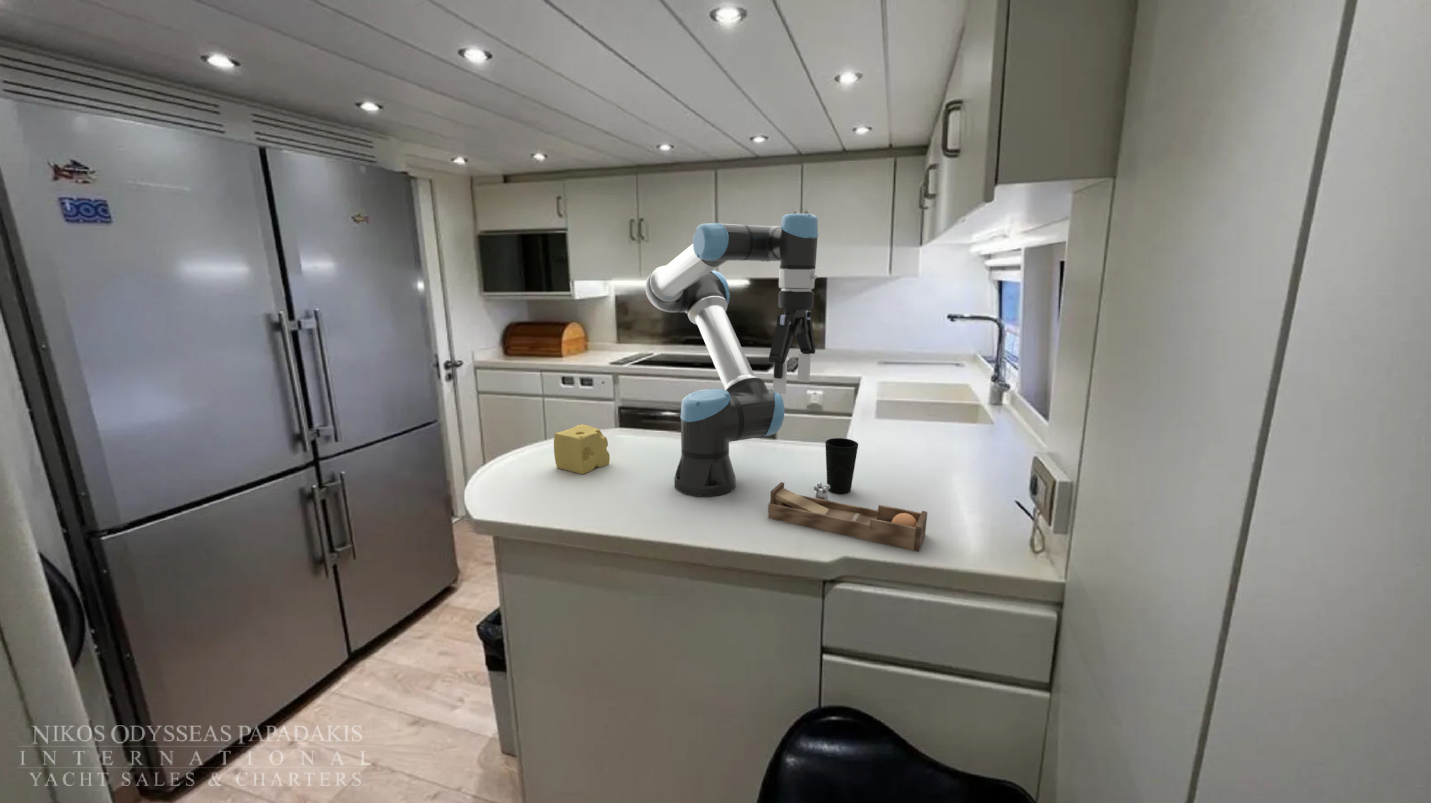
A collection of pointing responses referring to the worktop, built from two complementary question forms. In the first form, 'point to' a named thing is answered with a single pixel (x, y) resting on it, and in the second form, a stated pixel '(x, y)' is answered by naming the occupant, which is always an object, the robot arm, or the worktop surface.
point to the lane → (847, 519)
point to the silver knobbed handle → (821, 491)
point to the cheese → (580, 449)
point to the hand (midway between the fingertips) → (791, 387)
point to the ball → (905, 520)
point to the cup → (840, 464)
